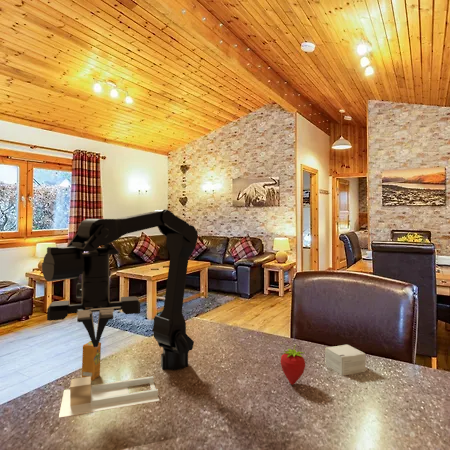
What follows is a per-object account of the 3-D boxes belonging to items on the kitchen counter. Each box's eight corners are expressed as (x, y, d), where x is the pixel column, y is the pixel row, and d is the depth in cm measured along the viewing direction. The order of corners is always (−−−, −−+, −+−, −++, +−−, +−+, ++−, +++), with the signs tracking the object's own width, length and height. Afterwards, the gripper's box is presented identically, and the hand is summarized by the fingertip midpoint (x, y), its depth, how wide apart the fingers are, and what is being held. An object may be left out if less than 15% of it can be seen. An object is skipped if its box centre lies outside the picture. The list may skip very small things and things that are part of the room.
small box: (347, 361, 103) (347, 343, 103) (366, 372, 95) (366, 353, 95) (324, 364, 100) (324, 346, 100) (342, 376, 93) (342, 357, 93)
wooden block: (90, 393, 80) (90, 376, 80) (90, 402, 76) (90, 384, 76) (71, 396, 78) (71, 379, 78) (70, 405, 75) (70, 387, 75)
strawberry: (298, 376, 92) (299, 338, 92) (309, 390, 85) (309, 349, 85) (276, 378, 91) (277, 339, 91) (285, 392, 84) (286, 350, 84)
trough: (151, 383, 88) (151, 372, 88) (159, 407, 77) (159, 395, 77) (64, 396, 82) (64, 384, 82) (58, 425, 70) (58, 411, 70)
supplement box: (93, 386, 86) (93, 346, 86) (81, 385, 87) (81, 345, 87) (101, 380, 90) (101, 341, 89) (89, 379, 90) (88, 340, 90)
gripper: (135, 269, 89) (135, 331, 89) (53, 272, 82) (53, 339, 82) (140, 275, 78) (140, 346, 78) (46, 280, 72) (46, 356, 72)
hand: (95, 346), depth 78 cm, fingers closed
